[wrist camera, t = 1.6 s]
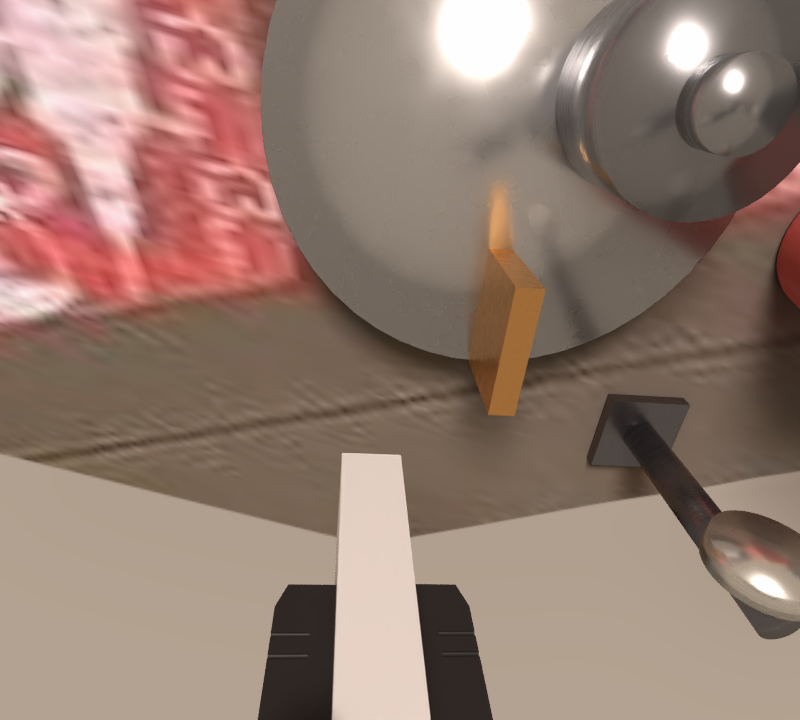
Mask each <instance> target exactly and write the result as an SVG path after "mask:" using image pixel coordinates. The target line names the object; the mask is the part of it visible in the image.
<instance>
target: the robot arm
mask: <svg viewBox="0 0 800 720" xmlns="http://www.w3.org/2000/svg"><path fill="white" fill-rule="evenodd" d="M336 549H337V550H336V572H335V585H288V586H287V588H286V589H285V591H284V593H283V594H282V596H281V598H280V599H279V601H278V602H277V604H276V606H275V609H274V616H273V623H272V630H271V637H270V643H269V650H268V658H267V663H266V669H265V676H264V682H263V690H262V696H261V702H260V709H259V716H258V720H493V718H492V713H491V708H490V704H489V699H488V694H487V689H486V684H485V680H484V675H483V670H482V665H481V660H480V657H479V654H478V652H479V651H478V646H477V641H476V637H475V635H474V627H473V622H472V617H471V612H470V608H469V605H468V604H467V602H466V600H465V599H464V597H463V596H462V594H461V593H460V591H459V590H458V588H457V587H456V585H435V584H434V585H432V584H415V577H414V568H413V559H412V551H411V541H410V532H409V524H408V515H407V506H406V497H405V488H404V479H403V471H402V462H401V455H386V454H358V453H342V464H341V479H340V495H339V511H338V526H337V548H336Z"/></svg>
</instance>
